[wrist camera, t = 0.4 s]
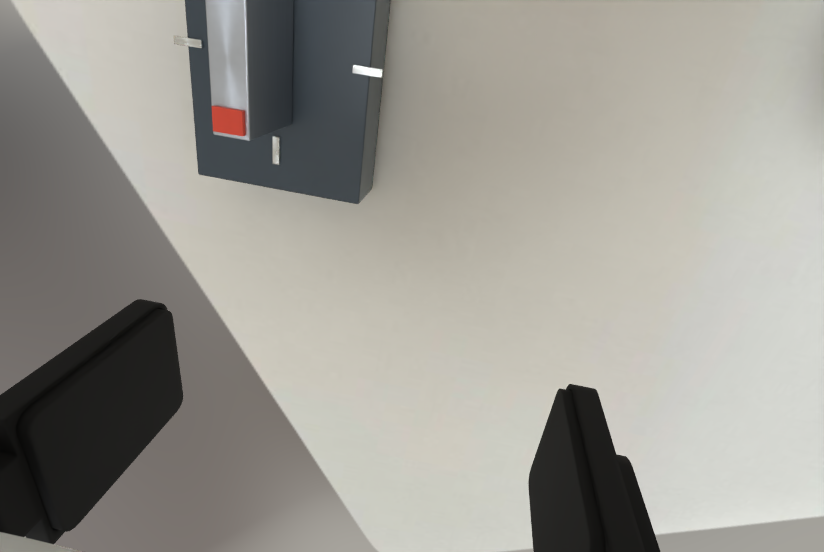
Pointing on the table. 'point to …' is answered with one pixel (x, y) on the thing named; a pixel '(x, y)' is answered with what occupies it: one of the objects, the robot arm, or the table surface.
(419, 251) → the table surface
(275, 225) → the table surface
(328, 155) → the panel
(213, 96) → the tap handle
